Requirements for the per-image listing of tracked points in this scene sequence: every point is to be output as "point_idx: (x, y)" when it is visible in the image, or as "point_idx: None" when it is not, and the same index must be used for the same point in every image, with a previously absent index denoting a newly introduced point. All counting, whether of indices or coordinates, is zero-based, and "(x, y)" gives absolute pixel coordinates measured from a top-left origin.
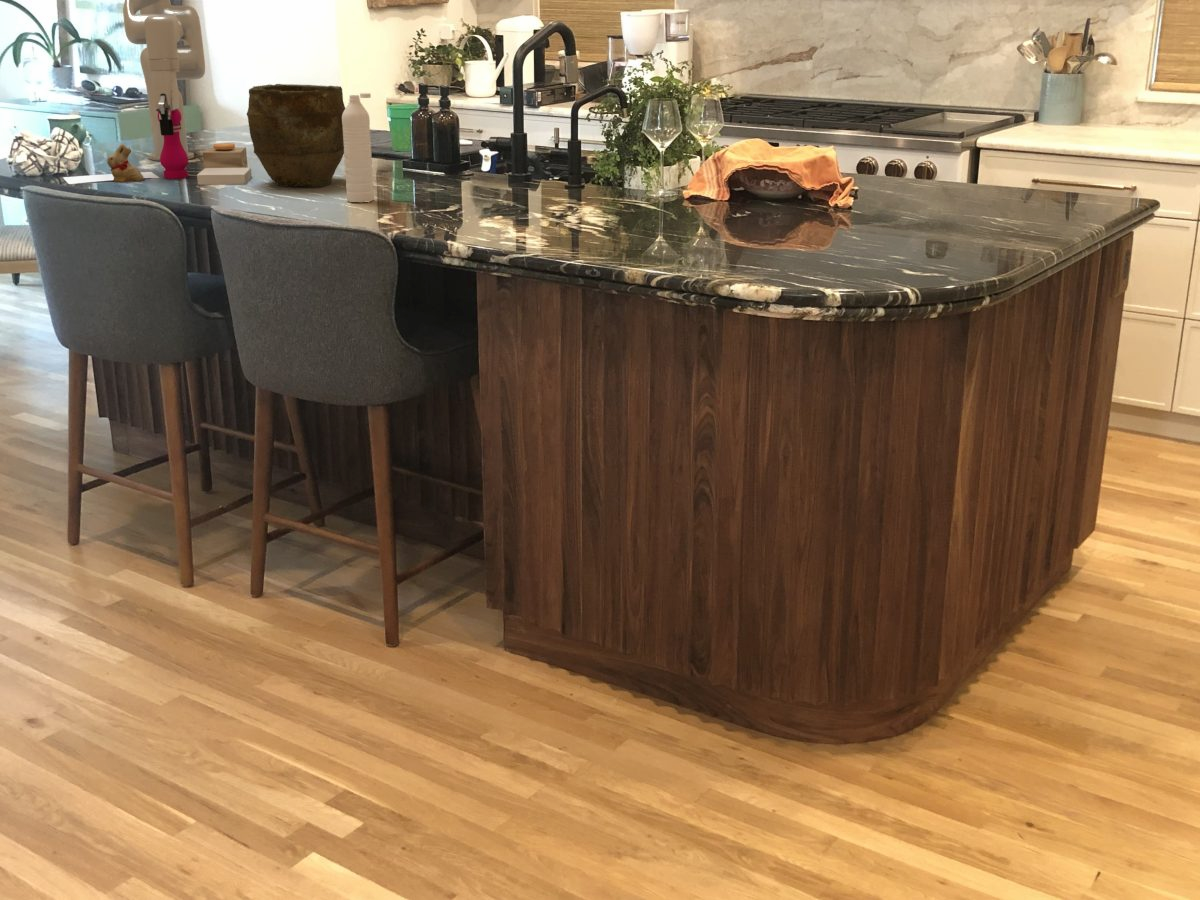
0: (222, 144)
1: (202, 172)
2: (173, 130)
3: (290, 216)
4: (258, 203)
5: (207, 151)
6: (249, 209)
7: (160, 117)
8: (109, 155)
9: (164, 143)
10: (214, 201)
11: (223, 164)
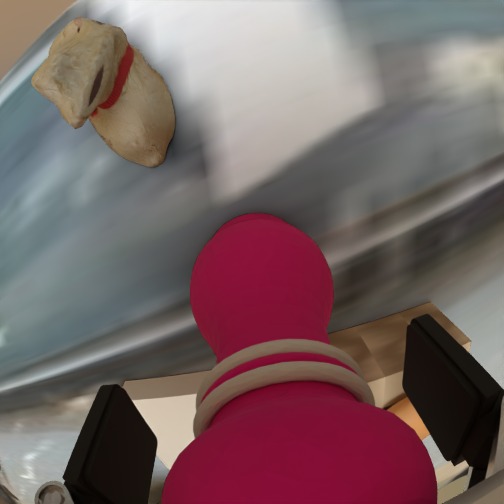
0: (411, 426)
1: (168, 403)
2: (150, 463)
3: (12, 481)
4: (36, 469)
5: (373, 390)
6: (6, 458)
7: (43, 502)
8: (69, 23)
9: (223, 314)
10: (7, 428)
11: None
